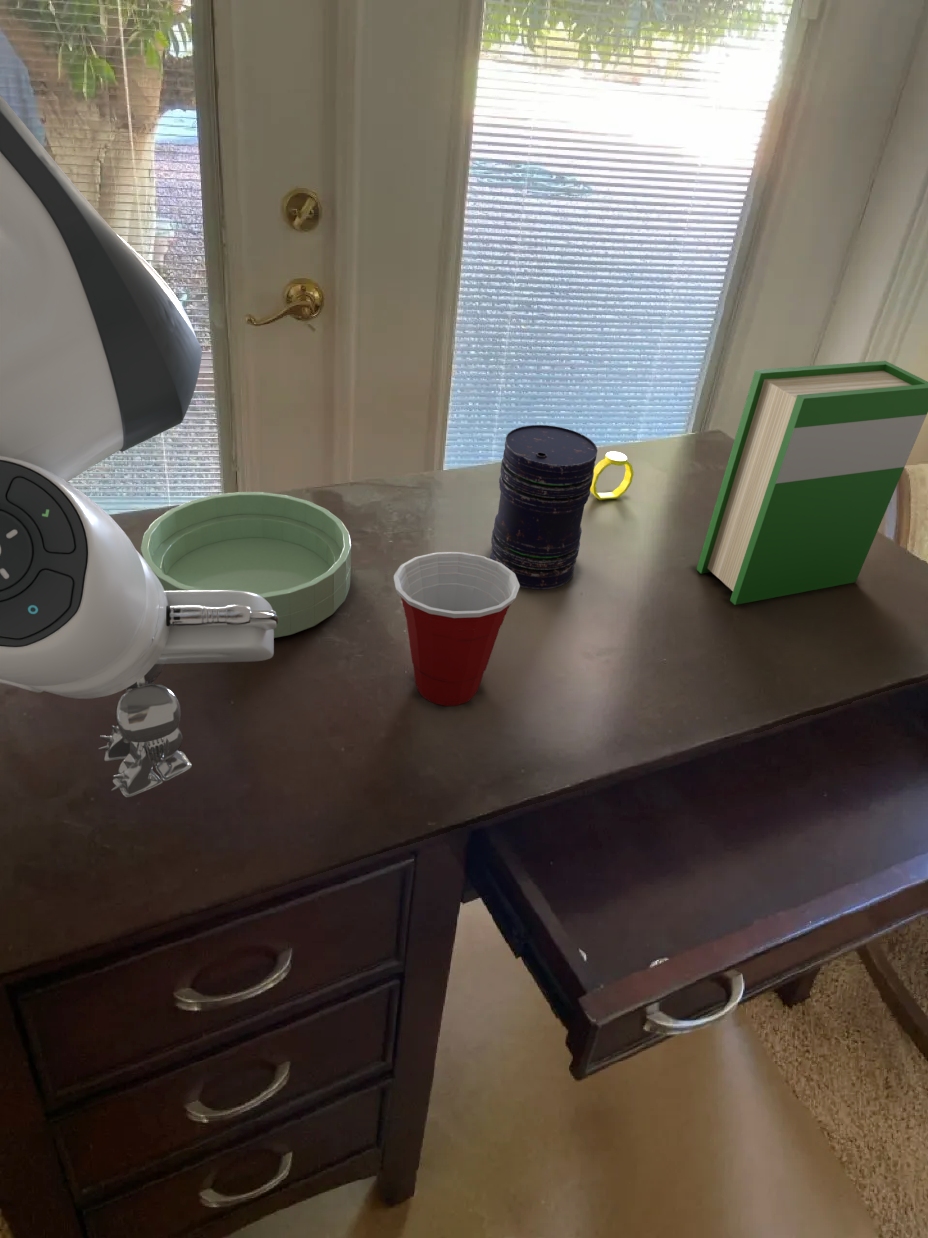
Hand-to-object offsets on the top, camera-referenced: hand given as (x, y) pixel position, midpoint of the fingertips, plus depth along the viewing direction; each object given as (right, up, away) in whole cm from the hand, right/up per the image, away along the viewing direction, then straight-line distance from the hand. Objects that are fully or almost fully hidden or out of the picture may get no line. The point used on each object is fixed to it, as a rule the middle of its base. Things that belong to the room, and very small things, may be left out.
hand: (127, 647), depth 62 cm
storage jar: (+31, +8, +39) cm, 51 cm away
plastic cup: (+22, -4, +21) cm, 31 cm away
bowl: (+1, +5, +31) cm, 31 cm away
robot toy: (-1, -8, +5) cm, 9 cm away
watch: (+42, +18, +55) cm, 71 cm away
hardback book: (+60, +7, +42) cm, 74 cm away
